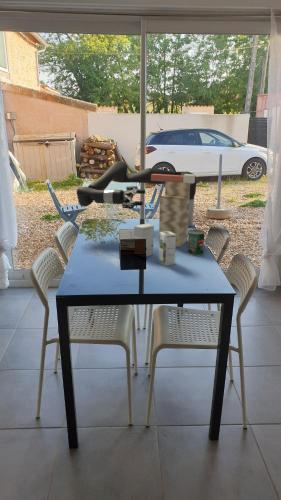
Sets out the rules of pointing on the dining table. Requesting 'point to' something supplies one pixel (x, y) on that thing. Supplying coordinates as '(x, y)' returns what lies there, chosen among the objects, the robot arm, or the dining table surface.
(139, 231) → the skincare box
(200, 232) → the canned tomato
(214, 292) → the dining table surface
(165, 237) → the syrup box
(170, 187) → the stand
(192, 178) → the block
